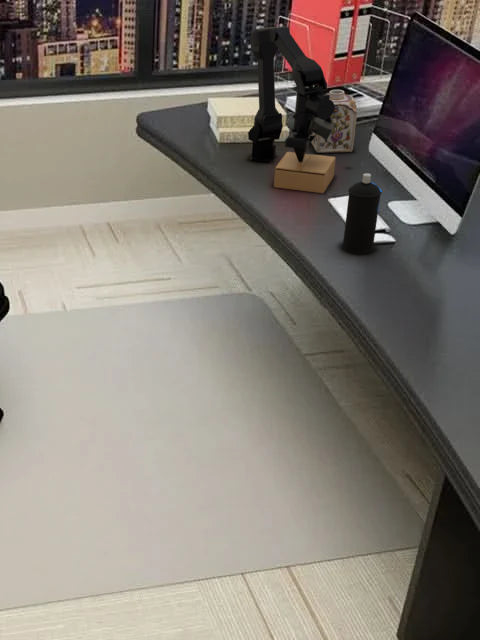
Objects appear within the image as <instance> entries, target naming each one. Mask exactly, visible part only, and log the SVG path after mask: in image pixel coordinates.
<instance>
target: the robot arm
mask: <svg viewBox="0 0 480 640" xmlns="http://www.w3.org/2000/svg"><path fill="white" fill-rule="evenodd" d="M249 43H250V47H251V52H252V54H253V55H254V57H255V59H256V61H257V63H256V64H257V85H258V87H257V89H258V110H257V112H256V114H255V116H254V118H253V119H254V120H253V126H252V127H251V128H250V129H249V131H247V137H248V138H247V139H248V140H249V141H250V142H252V147H251V157H250V158H249V160H250V161H253V162H261V163H271V162H272V160H273V159H274V158H275V157H276V151H277V149H276V148H277V144H276V143H275V141H276V140H280V138H281V135H282V132H283V127H284V124H283V114H282V113H281V112H279V111H278V109H277V108H276V85H275V84H276V82H275V79H276V78H275V58H276V55H277V54H278V51H279V52H280V53H281V55H282V56H283V57H284V59H285V60H286V62H287V63H288V65H289V66H290V68H291V78H292V80H293V82H294V84H295V86H294V87H293V88H292V90H293V91H294V92H296V98H295V108H294V113H293V114H292V119H294V120H293V126H292V128H291V134H289V135H288V136H287V138H286V139H285V141H284V147H285V148H289V149H293V151H294V152H295V154H296V156H297V159H298V161H299V162H302V161H303V159H304V156H305V154H307V150H308V147H309V145H311V144H312V143H311V142H312V140H313V139H314V138H315V136H311V135H312V134H313V132H314V133H315V134H317V135H319V136H321V137H322V138H324V139H328V137H329V136H330V134H331V132H332V130H333V128H334V123H333V118H332V117H331V116H332V114H333V112H334V109H335V106H334V103H333V101H332V100H330V99H329V98H330V95H328V94H327V93H328V91H329V90H328V89H329V88H328V83H327V80H326V78H325V74H324V71H323V69H322V67H321V65H320V64H319V63H318V62H317V61H316V60H314V59H312V58H310V57H307V55H306V54H305V53H304V51H303V49H301V47H300V45H299V44H298V43H297V41H296V40H295V38H294V37H293V35H292V33H291V30H290V28H289V27H288V26H286V25H283V26H276V27H275V26H269V27H262V28H256V29H254V30H253V31H252V33H251V34H250V36H249Z"/></svg>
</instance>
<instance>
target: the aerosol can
mask: <svg viewBox="0 0 480 640" xmlns="http://www.w3.org/2000/svg"><path fill="white" fill-rule="evenodd" d="M371 179H372V173H363V174H362V179H361V181H359V182H356V183H354V184H352V186H350V187H349V188H348V189H347V191H348V198H347V208H346V216H345V224H344V234H343V241H342V243H341V248H342V250H344V251H345V252H347V253H350V254H353V255H365V254H370V253H371V252H373V251H374V250H375V237H376V230H377V223H378V215H379V208H380V201H381V195H382V193H383V190H382V189H381V188H380V187H379V185H377V184H376V183H375V182H372V181H371Z"/></svg>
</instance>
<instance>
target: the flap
mask: <svg viewBox="0 0 480 640" xmlns="http://www.w3.org/2000/svg"><path fill="white" fill-rule="evenodd" d="M311 155H312V154H310V153H305V156H304V159H303V161H302V162H299V161H298V159H297V156H296V154H295V151H294V152H292V151H287V152H285V154H284V156H283V157H282V158H281V160H280V161H279V162H278V163H277V165H276V166H275V169H284V170H292V171H300V170H301V169H302V167H303V166H304V164H305V163H306V162H307V160H308V159H309V157H310V156H311Z"/></svg>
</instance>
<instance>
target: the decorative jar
mask: <svg viewBox="0 0 480 640" xmlns="http://www.w3.org/2000/svg"><path fill="white" fill-rule="evenodd" d="M326 94H328V95H330V98H329V99H330V100H332V101H333V103H334V106H335V109H334V112H333V114H332V116H331V117H332V118H333V123H334V128H333V130H332V132H331V134H330V136H329V137H328V139H324V138H322V137H321V136H319V135H317V134H315V133H314V132H313V134H312V135H311V136H315V138H314V139H313V140H312V142H311V143H310V144H311V145H312V147H313V148H314V150H315V152H316V153H317V154H328V153H329V154H332V153H352V152H353V150H354V143H355V136H356V126H357V117H358V108H357V104H356V99H355V97H354V96H352V95H349V94H348V93H345V91H344V90H342V89H332V90H330V91H329V92H326Z"/></svg>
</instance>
